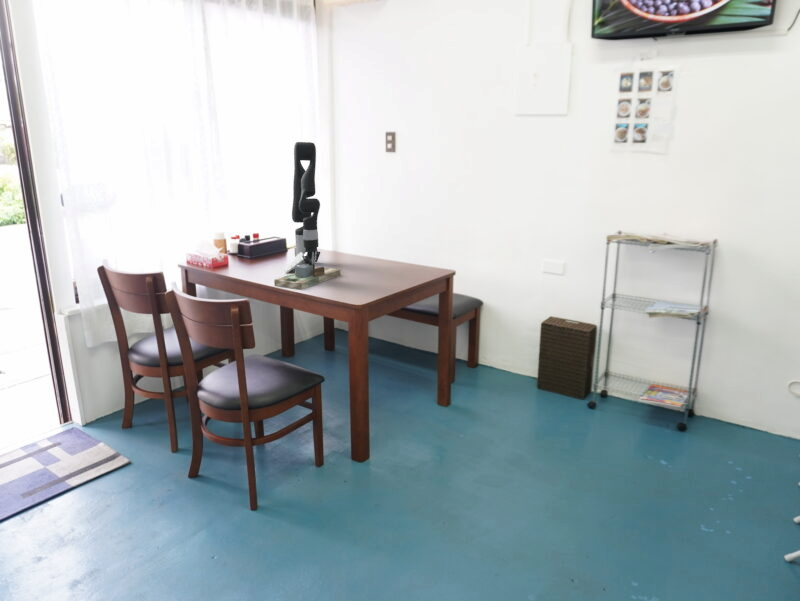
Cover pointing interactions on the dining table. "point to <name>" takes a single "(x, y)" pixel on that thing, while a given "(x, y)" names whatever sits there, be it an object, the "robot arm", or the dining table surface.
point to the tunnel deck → (307, 278)
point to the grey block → (304, 271)
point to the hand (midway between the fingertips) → (312, 271)
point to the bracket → (295, 262)
